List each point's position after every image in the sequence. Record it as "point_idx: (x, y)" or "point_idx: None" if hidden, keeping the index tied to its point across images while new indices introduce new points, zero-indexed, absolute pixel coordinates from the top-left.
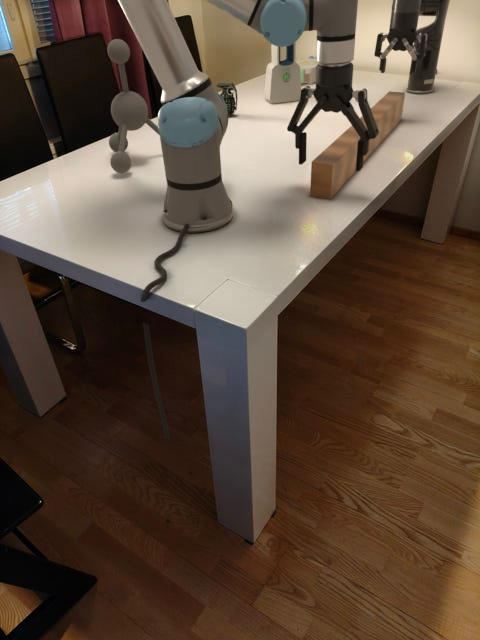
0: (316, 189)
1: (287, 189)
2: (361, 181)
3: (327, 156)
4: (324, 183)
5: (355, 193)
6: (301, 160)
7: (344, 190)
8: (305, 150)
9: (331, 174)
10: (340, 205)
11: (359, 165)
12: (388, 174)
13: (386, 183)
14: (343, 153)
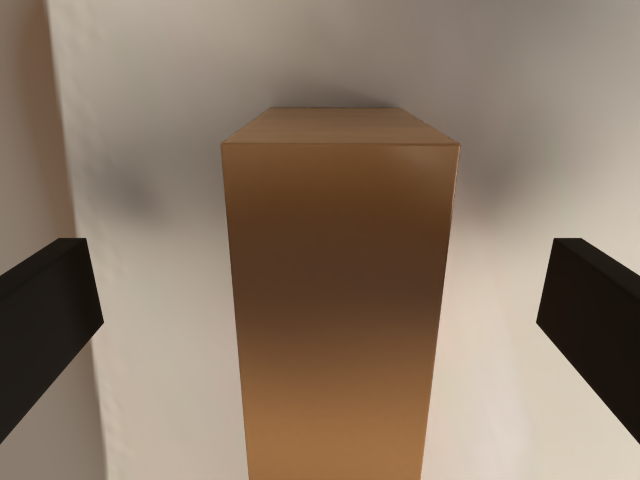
0: (364, 111)
1: (563, 151)
2: (213, 376)
3: (351, 323)
4: (309, 119)
5: (178, 237)
6: (576, 251)
7: None
8: (590, 363)
9: (245, 126)
10: (182, 48)
11: (29, 259)
12: (137, 473)
13: (99, 390)
14: (247, 419)
